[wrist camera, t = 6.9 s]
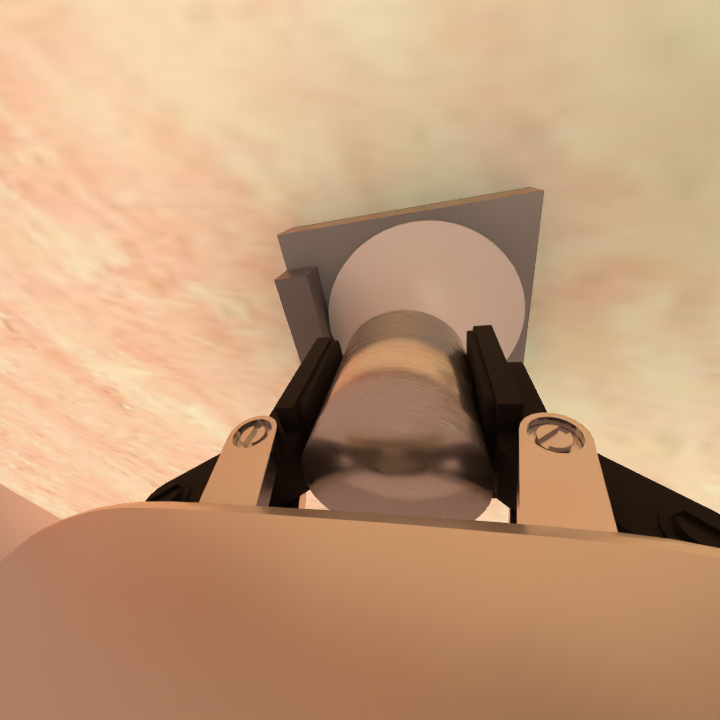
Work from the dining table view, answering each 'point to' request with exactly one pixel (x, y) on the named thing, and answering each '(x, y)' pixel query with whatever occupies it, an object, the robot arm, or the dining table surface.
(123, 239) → the dining table surface
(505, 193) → the scale
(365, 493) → the cylinder
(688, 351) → the dining table surface
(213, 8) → the dining table surface
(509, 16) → the dining table surface
